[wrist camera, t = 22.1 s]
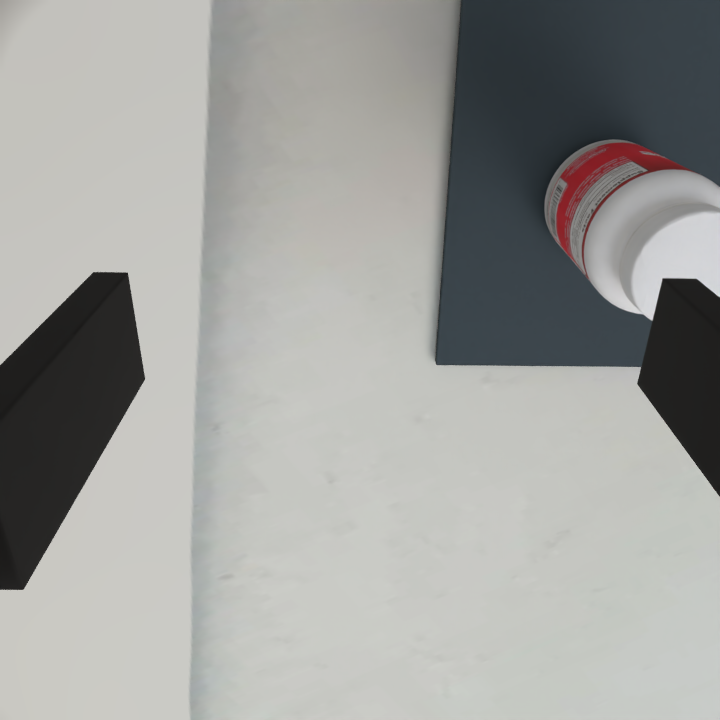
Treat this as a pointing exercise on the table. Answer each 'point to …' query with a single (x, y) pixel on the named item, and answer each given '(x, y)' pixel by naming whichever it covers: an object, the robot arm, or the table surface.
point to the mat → (548, 151)
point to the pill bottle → (634, 222)
